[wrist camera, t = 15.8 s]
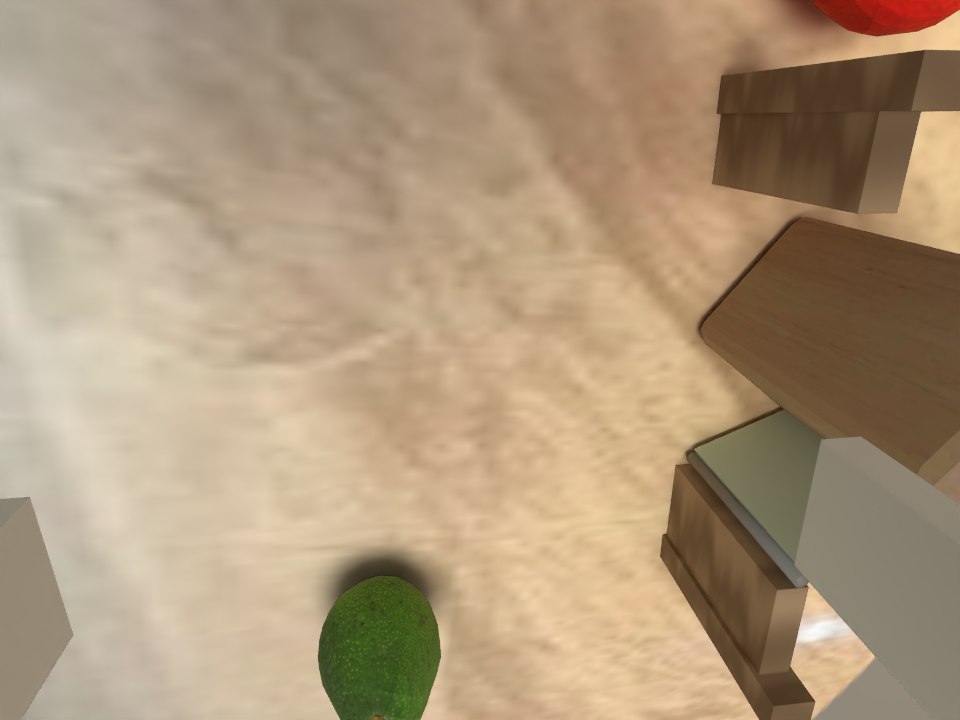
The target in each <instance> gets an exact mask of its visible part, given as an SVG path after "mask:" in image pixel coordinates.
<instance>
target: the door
mask: <svg viewBox="0 0 960 720" xmlns="http://www.w3.org/2000/svg"><path fill="white" fill-rule="evenodd" d="M821 439H823V438H822V437H821V436H819V435H818V434H817V433H815V432H814V431H813V430H811V429H810V428H809V427H807V426H806V425H805V424H803V423H802V422H801V421H799V420H798V419H797V418H795V417H794V416H793V415H791V414H790V413H789V412H787V411H786V410H785V409H784V410H782V411H780V412H777V413H775V414H773V415H770V416H768V417H766V418H764V419H761V420H759V421H757V422H754V423H752V424H750V425H747V426H745V427H743V428H741V429H738V430H736V431H734V432H731V433H729V434H727V435H724V436H722V437H720V438H718V439H715V440H713V441H711V442H708V443H706V444H704V445H701V446H699V447H697V448H695V449H694V450H695V452H691V453H689V454H688V456H687V460H688V461H689V462H690V464H691V465H692V466H693V467H694V468H695V469H696V471H697V472H698V473H699V474H700V475H701V476H702V478H703V479H704V480H705V481H706V482H707V483H708V485H709V486H710V487H711V488H712V489H713V490H714V492H715V493H716V494H717V495H718V496H719V498H720V499H721V500H722V501H723V502H724V503H725V505H726V506H727V507H728V508H729V509H730V510H731V512H732V513H733V514H734V515H735V516H736V517H737V519H738V520H739V521H740V522H741V523H742V524H743V526H744V527H745V528H746V529H747V530H748V531H749V533H750V534H751V535H752V536H753V537H754V538H755V540H756V541H757V542H758V543H759V544H760V545H761V547H762V548H763V549H764V550H765V551H766V552H767V554H768V555H769V556H770V557H771V558H772V559H773V561H774V562H775V563H776V564H777V565H778V566H779V568H780V569H781V570H782V571H783V572H784V573H785V575H786V576H787V577H788V578H789V579H790V580H791V582H792V583H793V584H794V585H795V586H796V587H798V588H802V587H804V586H806V585H807V584H808V582H809V581H808V580H807V579H806V578H805V577H804V576H803V574H802V573H801V572H800V571H799V570H798V569H797V568H796V567H795V560H796V555H797V551H798V546H799V541H800V536H801V532H802V527H803V522H804V518H805V513H806V508H807V504H808V499H809V494H810V490H811V485H812V480H813V476H814V471H815V466H816V462H817V457H818V452H819V448H820V443H821Z"/></svg>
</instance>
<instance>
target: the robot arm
mask: <svg viewBox="0 0 960 720" xmlns="http://www.w3.org/2000/svg"><path fill="white" fill-rule="evenodd" d="M795 567H796V568H797V569H798V570H799V571H800V572H801V573H802V574H803V576H804V577H805V578H806V579H807V580H808V581H809V582H810V583H811V585H812V586H813V587H814V588H815V589H816V590H817V591H818V592H819V594H820V595H821V596H822V597H823V598H824V599H825V600H826V601H827V603H828V604H829V605H830V606H831V607H832V608H833V609H834V610H835V612H836V613H837V614H838V615H839V616H840V617H841V618H842V619H843V621H844V622H845V623H846V624H847V625H848V626H849V627H850V628H851V630H852V631H853V632H854V633H855V634H856V635H857V636H858V637H859V639H860V640H861V641H862V642H863V643H864V644H865V645H866V646H867V648H868V649H869V650H870V651H871V652H872V653H873V654H874V655H875V657H876V658H877V659H878V660H879V661H880V662H881V663H882V664H883V666H884V667H885V668H886V669H887V670H888V671H889V672H890V673H891V675H892V676H893V677H894V678H895V679H896V680H897V681H898V682H899V684H900V685H901V686H902V687H903V688H904V689H905V690H906V691H907V693H908V694H909V695H910V696H911V697H912V698H913V699H914V700H915V701H916V703H917V704H918V705H919V706H920V707H921V708H922V709H923V711H924V712H925V713H926V714H927V715H928V716H929V717H930V718H931V719H932V720H960V504H958V503H957V502H955V501H954V500H952V499H951V498H950V497H948V496H947V495H945V494H944V493H942V492H941V491H939V490H938V489H936V488H935V487H934V486H932V485H931V484H929V483H928V482H926V481H925V480H923V479H922V478H920V477H919V476H918V475H916V474H915V473H913V472H912V471H910V470H909V469H907V468H906V467H904V466H903V465H902V464H900V463H899V462H897V461H896V460H894V459H893V458H891V457H890V456H889V455H887V454H886V453H884V452H883V451H881V450H880V449H878V448H877V447H875V446H874V445H873V444H871V443H870V442H868V441H867V440H865V439H864V438H862V437H848V438H834V439H821V443H820V448H819V452H818V457H817V462H816V466H815V471H814V476H813V480H812V485H811V490H810V494H809V499H808V504H807V508H806V513H805V518H804V522H803V527H802V532H801V536H800V541H799V546H798V551H797V555H796V560H795ZM72 636H73V632H72V629H71V626H70V623H69V620H68V617H67V613H66V610H65V607H64V604H63V601H62V598H61V594H60V591H59V588H58V585H57V582H56V579H55V575H54V572H53V569H52V566H51V563H50V560H49V556H48V553H47V550H46V547H45V544H44V541H43V537H42V534H41V531H40V528H39V525H38V522H37V518H36V515H35V512H34V509H33V506H32V503H31V499H30V497H24V498H10V499H0V720H21V719H22V717H23V716H24V714H25V712H26V711H27V709H28V708H29V706H30V704H31V703H32V701H33V699H34V698H35V696H36V695H37V693H38V691H39V690H40V688H41V687H42V685H43V683H44V682H45V680H46V678H47V677H48V675H49V674H50V672H51V670H52V669H53V667H54V666H55V664H56V662H57V661H58V659H59V657H60V656H61V654H62V653H63V651H64V649H65V648H66V646H67V645H68V643H69V641H70V640H71V638H72Z"/></svg>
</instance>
